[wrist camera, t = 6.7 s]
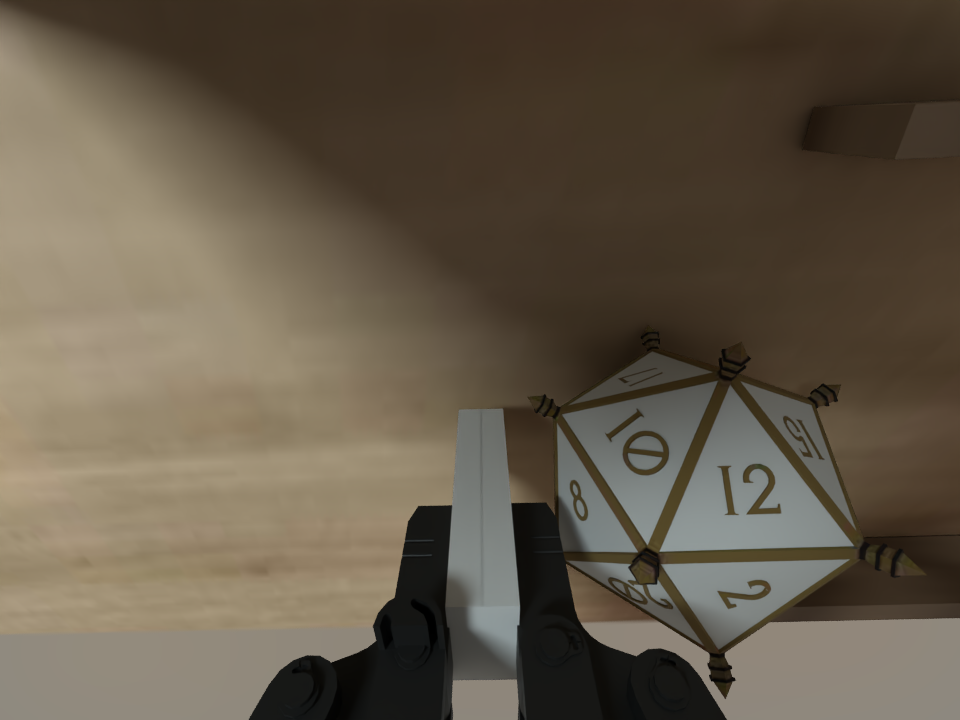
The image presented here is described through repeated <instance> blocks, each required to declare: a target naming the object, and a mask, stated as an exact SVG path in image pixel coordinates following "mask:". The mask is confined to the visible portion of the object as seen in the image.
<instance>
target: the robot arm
mask: <svg viewBox="0 0 960 720" xmlns="http://www.w3.org/2000/svg"><path fill="white" fill-rule="evenodd" d="M402 555H403V556H402V560H401V565H400V571H399V577H398V582H397V588H396V594H395V598H394V599H392V600H390V601H389V602H387V603H386V605H385V606H384V607H383V608H382V609H381V610H380V612H379V613H378V615H377V618H376V620H375V623H374V625H373V628H374V632H375V636H376V640H377V641H376V642H374V643H373V644H372V645H371V646H369V647H368V648H366V649H364V650H362V651H360V652H358V653H356V654H353V655H351V656H348V657H345V658H342V659H340V660H337V661H334V662H332V663H330V661H328V660H326V659H324V658H323V657H321V656H308V655H307V656H304V657H301V658H299V659H296V660H293V661H292V662H291V663H289V664H288V665H287V666H285V667H284V668H283V669H281V670H280V671H279V673H278V674H277V675H276V677H275V678H274V679H273V680H272V681H271V683H270V684H269V686H268V687H267V689H266V691H265V693H264V694H263V696H262V698H261V699H260V701H259V703H258V705H257V706H256V708H255V710H254V711H253V713H252V715H251V716H250V718H249V720H453V710H452V682H453V680H500V679H501V680H502V679H504V680H505V679H517V684H518V699H519V707H518V720H727V719H726V718H725V716H724V714H723V713H722V711H721V710H720V708H719V706H718V705H717V703H716V701H715V700H714V698H713V697H712V695H711V694H710V692H709V690H708V689H707V687H706V685H705V684H704V682H703V681H702V679H701V677H700V676H699V675H698V673H697V672H696V671H695V670H694V669H693V667H692V666H691V665H690V664H689V663H688V662H687V661H685V660H684V659H682V658H681V657H680V656H678V655H677V654H676V653H673V652H670V651H667V650H664V649H648V650H646V651H644V652H643V653H641V654H639V655H638V656H634V655H631V654H627V653H624V652H622V651H619V650H616V649H613V648H610V647H608V646H606V645H603V644H601V643H600V642H598V641H597V640H596V639H594V638H593V637H591V636H590V635H589V633H588V632H587V631H586V630H585V629H584V628H583V626H582V625H581V623H580V621H579V620H578V617H577V614H576V611H575V608H574V603H573V598H572V593H571V588H570V583H569V577H568V572H567V567H566V562H565V557H564V554H563V547H562V542H561V539H560V532H559V527H558V522H557V517H556V516H555V515H554V513H553V512H552V510H551V509H550V508H549V506H548V505H547V503H511V496H510V485H509V473H508V461H507V450H506V438H505V426H504V415H503V409H460V410H459V415H458V429H457V444H456V458H455V473H454V487H453V502H452V505H448V506H418V508H417V509H416V511H415V512H414V514H413V515H412V517H411V518H410V520H409V521H408V526H407V531H406V537H405V543H404V548H403V554H402Z"/></svg>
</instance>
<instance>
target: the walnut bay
mask: <svg viewBox="0 0 960 720" xmlns="http://www.w3.org/2000/svg"><path fill="white" fill-rule="evenodd" d="M802 150H807V151H817V152H826V153H836V154H845V155H855V156H864V157H874V158H883V159H893V160H898V159H918V158H939V157H959V156H960V99H956V100H937V101H918V102H899V103H880V104H861V105H843V106H824V107H814V110H813V113H812V117H811V120H810V124H809V127H808V130H807V134H806V137H805V141H804V144H803V148H802ZM864 541H865V542H867V543H868V544H870V545H879V546H882V544H883V543H884V544H887V546H888V548H891V549H894V550H897V551H898V550H899V548H900V549H903V551H904V554H905V555H906V556H907V557H908V558H909V559H910V560H911V561H913V562H914V563H915V564H916V565H917V566H918V567H919V568H920V569H921V570H922V571H923V572H924V573H926V574H927V575H912V576H900V577H897V578H893V577H891V574H890V573H888V572H886V571H883V570H881V571H877V570H875V566H873V565H872V564H870V563H869V562H867V561H866V560H860V561H858V562H857V563H855V564H854V565H852V566H851V567H849V568H848V569H847V570H845V571H844V572H842V573H841V574H839V575H838V576H836V577H835V578H833V579H832V580H830V581H829V582H828V583H826V584H825V585H823V586H822V587H820V588H819V589H817V590H816V591H814V592H813V593H811V594H810V595H808V596H807V597H806V598H804V599H803V600H801V601H800V602H798V603H797V604H795V605H794V606H792V607H791V608H789V609H788V610H787V611H785V612H784V613H782V614H781V615H779V616H778V617H776V618H775V619H773V620H772V621H770V622H798V621H841V620H842V621H843V620H884V619H885V620H888V619H929V618H930V619H934V618H960V535H958V536H921V537H884V538H864Z"/></svg>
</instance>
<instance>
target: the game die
mask: <svg viewBox="0 0 960 720" xmlns="http://www.w3.org/2000/svg"><path fill="white" fill-rule="evenodd" d="M641 339H643V341H644V343H642V344H643V345H645V346H646V348H647V352H646V353H645V354H643V355H641V356H640V357H638V358H637V359H635V360H634V361H632V362H630V363H629V364H627V365H626V366H624V367H622V368H621V369H619V370H618V371H616V372H615V373H613V374H611V375H610V376H608V377H607V378H605V379H604V380H602V381H600V382H599V383H597V384H596V385H594V386H593V387H591V388H589V389H588V390H586V391H585V392H583V393H581V394H580V395H578V396H577V397H575V398H574V399H572V400H570V401H569V402H567V403H566V404H564V405H563V406H561V407H558V406H556V405H555V403H554V402H553V399H551V400H550V399H548V398H546V395H545V394H544V395H543V396H533V397H528V399H529V400H530V402H531V404H532V405H533V407H534V410H535V413H538V412H539V413H541V414H542V415H543V416H544V417H545V416H550V417H553V440H554V487H555V516H556V517H557V522H558V527H559V532H560V539H561V542H562V547H563V554H564V557H565V562H566V564H568V565H569V566H571V567H573V568H574V569H576V570H577V571H579V572H581V573H582V574H584V575H585V576H587V577H589V578H590V579H592V580H593V581H595V582H597V583H598V584H600V585H601V586H603V587H605V588H606V589H608V590H609V591H611V592H613V593H614V594H616V595H617V596H619V597H620V598H622V599H624V600H625V601H627V602H628V603H630V604H632V605H633V606H635V607H636V608H638V609H640V610H641V611H643V612H644V613H646V614H648V615H649V616H651V617H652V618H654V619H656V620H657V621H659V622H660V623H662V624H664V625H665V626H667V627H668V628H670V629H672V630H673V631H675V632H676V633H678V634H680V635H681V636H683V637H684V638H686V639H688V640H689V641H691V642H692V643H694V644H696V645H697V646H699V647H701V648H702V649H703V650H705V651H707V652H708V653H709V654H710V662H709V663H708V667H709V669H710V671H711V675H709V677H710V679H711V681H713V682H714V683H715V684H716V686H717V687H718V689H719V690H720V692H721V693H722V695H723V696H724V698H725V699H726V697H727V694H728V692H729V689H730V686H731V684H732V682H733V681H735V678H733V677H732V675H731V671H730V669H732V666H730V665H728V663H727V661H726V659H725V652H726V651H728V650H729V649H731V648H732V647H734V646H735V645H736V644H738V643H740V642H741V641H742V640H744V639H746V638H747V637H748V636H750V635H751V634H753V633H754V632H756V631H757V630H759V629H760V628H762V627H763V626H764V625H766V624H767V623H769V622H770V621H772V620H773V619H775V618H776V617H778V616H779V615H781V614H782V613H784V612H785V611H787V610H788V609H789V608H791V607H792V606H794V605H795V604H797V603H798V602H800V601H801V600H803V599H804V598H806V597H807V596H808V595H810V594H811V593H813V592H814V591H816V590H817V589H819V588H820V587H822V586H823V585H825V584H826V583H828V582H829V581H830V580H832V579H833V578H835V577H836V576H838V575H839V574H841V573H842V572H844V571H845V570H847V569H848V568H849V567H851V566H852V565H854V564H855V563H857V562H858V561H860V560H866V561H867V562H869V563H870V564H872V565H873V566H875V570H877V571H881V570H883V571H886V572H888V573H890V574H891V577H893V578H897V577H900V576H912V575H927V574H926V573H924V572H923V571H922V570H921V569H920V568H919V567H918V566H917V565H916V564H915V563H914V562H913V561H911V560H910V559H909V558H908V557H907V556H906V555H905V554H904V551H903V549H900V548H899V550H898V551H897V550H894V549H891V548H888V546H887V544H884V543H883V544H882V546H879V545H870V544H868V543H867V542H865V541H864V538H863V535H862V532H861V530H860V527H859V524H858V521H857V519H856V516H855V513H854V511H853V508H852V505H851V502H850V500H849V497H848V494H847V491H846V489H845V486H844V483H843V480H842V478H841V475H840V472H839V470H838V467H837V464H836V461H835V459H834V456H833V453H832V450H831V448H830V445H829V442H828V440H827V437H826V434H825V431H824V429H823V426H822V423H821V420H820V418H819V415H818V412H817V408H818V407H819V406H824V405H825V406H829V403H831V402H833V401H834V402H837V401H838V400H837V396H838V393H839V390H840V387H841V385H825V384H824V383H823V384H822V385H820V386H819V387H818V388H817V389H814V390H813V391H812V392H811V393H810V394H811V395H810V397H808V398H806V397H803V396H800V395H798V394H795V393H792V392H789V391H786V390H783V389H781V388H778V387H775V386H772V385H769V384H766V383H763V382H761V381H758V380H755V379H752V378H749V377H746V376H744V375H741V374H739V373H740V372H741V371H743V370H744V369H745V368H746V366H745V364H746V363H747V362H748V361H750V359H751V358H750V357H749V356H748V355H747V354H746V351H745V349H744V347H743V344H742V342H740V343H738V344H736V345H734V346H732V347H730V348H728V349H722V351H721V352H722V358H719V365H720V367H716V366H713V365H710V364H707V363H703V362H700V361H697V360H694V359H690V358H687V357H684V356H681V355H677V354H674V353H671V352H668V351H665V350H661V349H659V348H658V345H659V344H660V339H659V332H656V331H655V330H654V329H652V328H651V327H650V326H649V325H648V327H647V329H646V331H645V333H644V335H643V336H641Z"/></svg>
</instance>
